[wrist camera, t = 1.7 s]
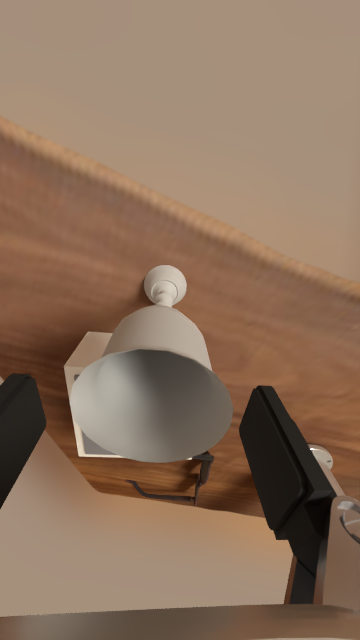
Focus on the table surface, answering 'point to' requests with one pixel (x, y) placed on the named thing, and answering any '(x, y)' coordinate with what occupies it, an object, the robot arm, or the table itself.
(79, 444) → the display plinth
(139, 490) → the eyeglasses
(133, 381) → the chalice
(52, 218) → the table surface
